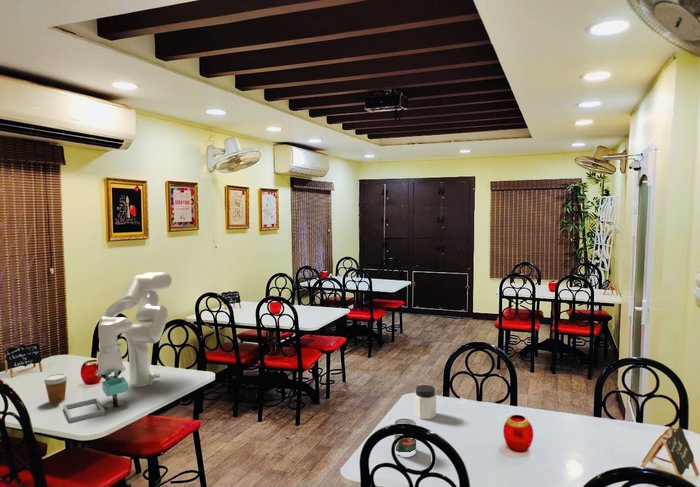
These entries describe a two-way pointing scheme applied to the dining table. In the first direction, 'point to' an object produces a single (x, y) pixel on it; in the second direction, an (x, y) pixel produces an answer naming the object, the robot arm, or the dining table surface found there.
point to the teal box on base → (114, 386)
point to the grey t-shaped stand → (115, 404)
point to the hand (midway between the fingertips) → (112, 385)
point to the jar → (425, 402)
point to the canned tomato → (406, 443)
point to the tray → (84, 416)
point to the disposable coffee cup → (56, 387)
